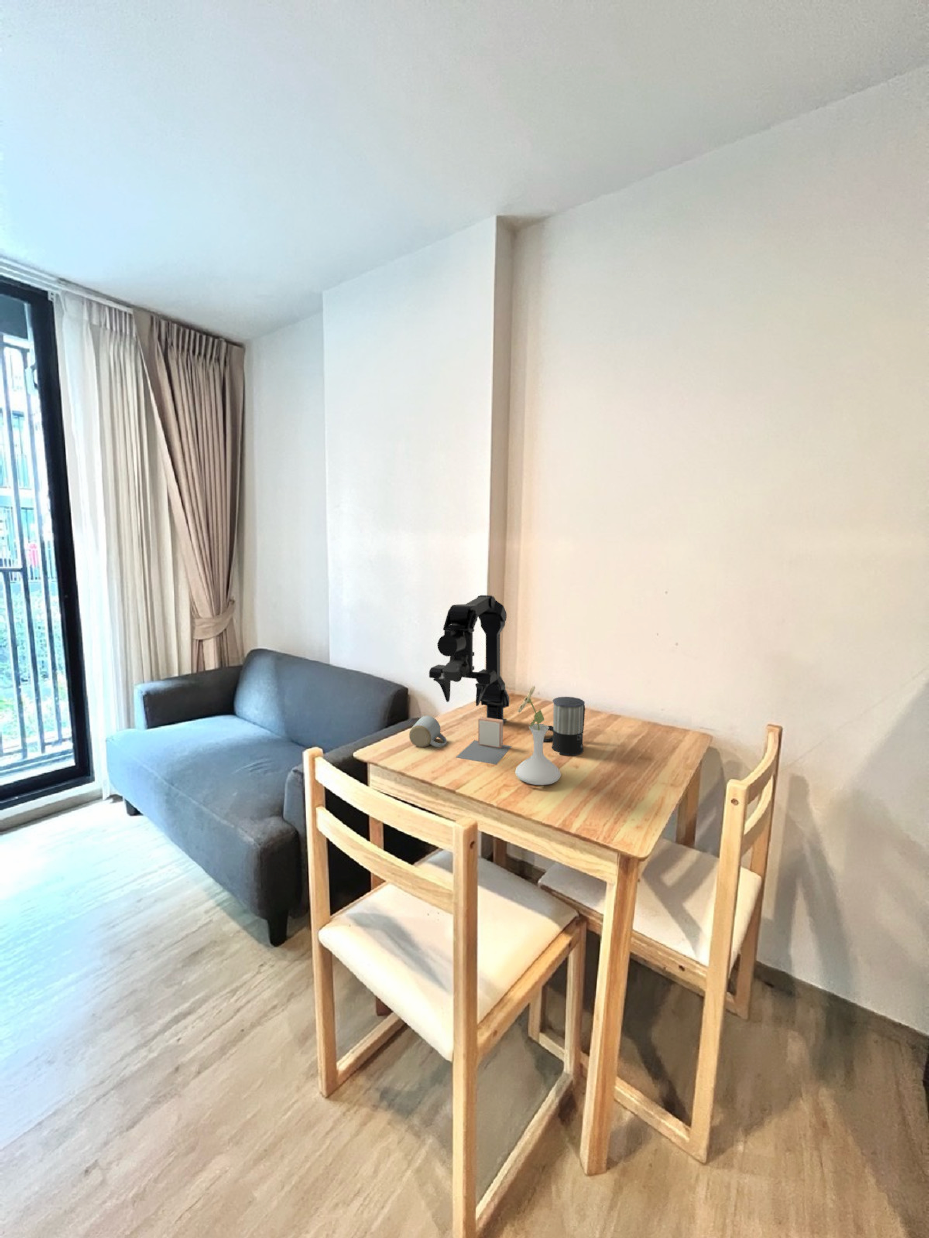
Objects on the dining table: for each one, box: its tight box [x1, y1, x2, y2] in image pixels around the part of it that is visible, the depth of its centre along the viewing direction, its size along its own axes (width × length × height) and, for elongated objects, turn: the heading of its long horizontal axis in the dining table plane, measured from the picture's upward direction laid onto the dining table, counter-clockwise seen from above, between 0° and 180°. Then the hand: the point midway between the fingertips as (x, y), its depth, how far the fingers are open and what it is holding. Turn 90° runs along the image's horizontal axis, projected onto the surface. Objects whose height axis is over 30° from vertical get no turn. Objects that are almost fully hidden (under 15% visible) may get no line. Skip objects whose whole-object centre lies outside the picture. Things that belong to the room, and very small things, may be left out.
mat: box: [455, 739, 513, 765], centre depth 141 cm, size 14×12×1 cm
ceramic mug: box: [408, 715, 448, 748], centre depth 147 cm, size 11×8×8 cm
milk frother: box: [543, 696, 586, 757], centre depth 146 cm, size 14×16×15 cm
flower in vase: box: [514, 685, 562, 786], centre depth 123 cm, size 13×11×25 cm
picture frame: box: [477, 716, 504, 748], centre depth 145 cm, size 2×7×8 cm, turn 67°
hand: (462, 703), depth 140 cm, fingers open, 9 cm apart
